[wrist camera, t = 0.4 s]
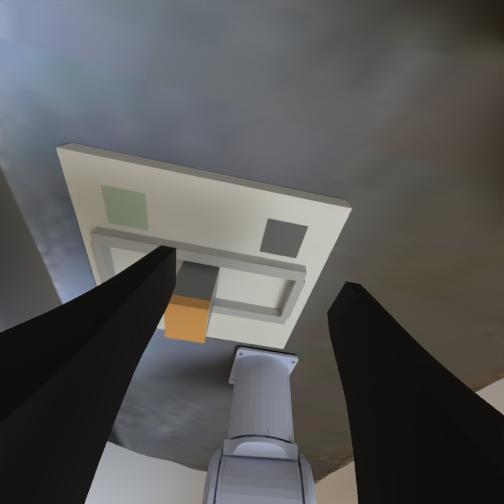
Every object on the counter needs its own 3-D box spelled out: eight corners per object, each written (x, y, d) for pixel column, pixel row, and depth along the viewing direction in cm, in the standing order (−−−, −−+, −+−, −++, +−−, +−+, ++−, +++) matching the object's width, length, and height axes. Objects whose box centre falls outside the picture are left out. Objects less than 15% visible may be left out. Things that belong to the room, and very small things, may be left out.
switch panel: (282, 337, 28) (283, 357, 26) (114, 309, 26) (101, 327, 24) (345, 200, 17) (356, 215, 15) (72, 142, 16) (43, 150, 14)
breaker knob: (215, 297, 21) (204, 343, 18) (184, 291, 21) (165, 337, 17) (220, 265, 19) (208, 310, 15) (184, 258, 19) (163, 302, 15)
